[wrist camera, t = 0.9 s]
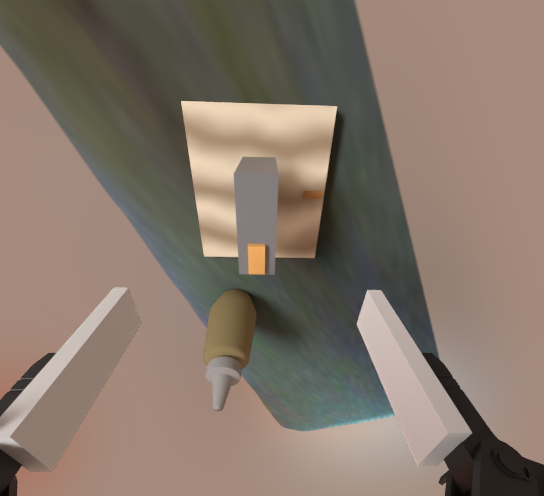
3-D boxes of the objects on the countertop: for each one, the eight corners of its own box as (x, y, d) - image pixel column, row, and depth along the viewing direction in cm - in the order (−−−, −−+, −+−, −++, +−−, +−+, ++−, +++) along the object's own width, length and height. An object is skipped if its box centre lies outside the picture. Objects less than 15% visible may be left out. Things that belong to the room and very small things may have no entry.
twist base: (186, 101, 26) (172, 100, 23) (332, 106, 27) (343, 106, 23) (207, 249, 37) (200, 265, 33) (312, 251, 37) (317, 267, 33)
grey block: (242, 156, 25) (232, 175, 18) (275, 157, 25) (279, 176, 18) (245, 237, 30) (238, 277, 23) (272, 237, 30) (274, 277, 23)
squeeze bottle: (252, 318, 45) (244, 427, 30) (211, 311, 44) (180, 420, 28) (262, 288, 41) (259, 395, 26) (217, 279, 40) (185, 386, 24)
